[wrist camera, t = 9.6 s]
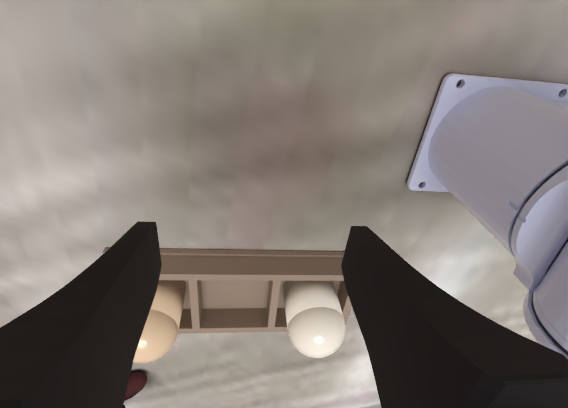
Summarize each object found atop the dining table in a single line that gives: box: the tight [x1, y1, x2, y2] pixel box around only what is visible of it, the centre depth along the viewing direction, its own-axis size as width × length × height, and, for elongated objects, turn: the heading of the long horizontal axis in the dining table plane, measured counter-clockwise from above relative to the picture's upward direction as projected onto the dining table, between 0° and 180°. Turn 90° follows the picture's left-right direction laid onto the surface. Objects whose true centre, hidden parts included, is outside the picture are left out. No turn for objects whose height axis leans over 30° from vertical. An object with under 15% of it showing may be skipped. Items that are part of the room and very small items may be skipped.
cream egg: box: [283, 281, 345, 358], centre depth 26 cm, size 4×4×6 cm
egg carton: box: [103, 248, 352, 333], centre depth 27 cm, size 20×7×2 cm, turn 84°
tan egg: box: [133, 280, 186, 364], centre depth 24 cm, size 4×4×6 cm
